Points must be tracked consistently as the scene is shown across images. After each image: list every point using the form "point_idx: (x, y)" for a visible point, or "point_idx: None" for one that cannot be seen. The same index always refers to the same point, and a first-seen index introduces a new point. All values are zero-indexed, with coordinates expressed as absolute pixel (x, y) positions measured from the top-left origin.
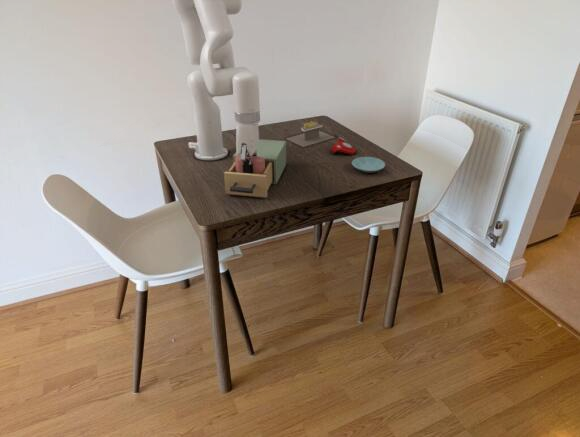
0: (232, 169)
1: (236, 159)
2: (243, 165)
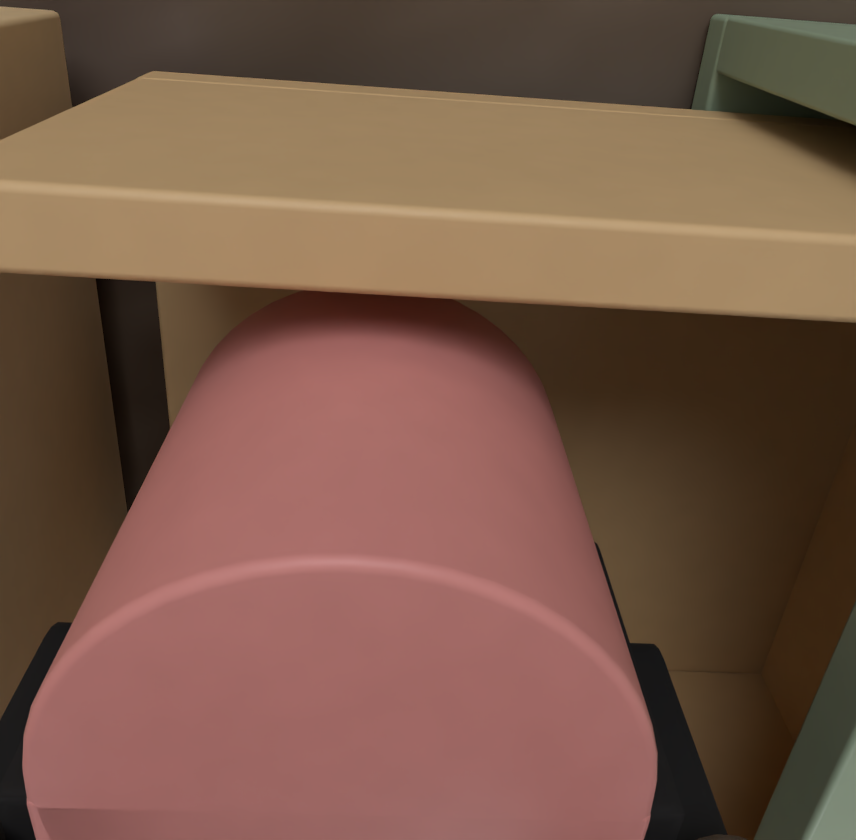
0: (122, 271)
1: (119, 653)
2: (21, 768)
